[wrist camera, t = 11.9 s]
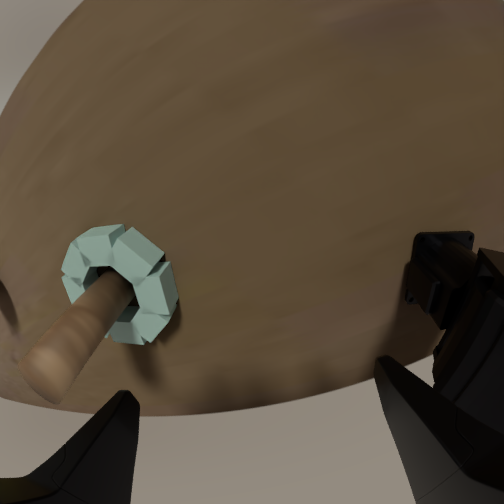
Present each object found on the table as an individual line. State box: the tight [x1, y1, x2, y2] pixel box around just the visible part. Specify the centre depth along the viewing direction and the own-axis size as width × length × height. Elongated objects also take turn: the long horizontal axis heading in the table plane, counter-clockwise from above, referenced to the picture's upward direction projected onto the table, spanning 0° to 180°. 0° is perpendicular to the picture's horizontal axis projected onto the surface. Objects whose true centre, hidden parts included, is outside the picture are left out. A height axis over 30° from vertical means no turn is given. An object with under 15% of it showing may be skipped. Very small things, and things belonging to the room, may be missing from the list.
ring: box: [61, 224, 179, 345], centre depth 22 cm, size 10×10×2 cm
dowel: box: [18, 267, 136, 404], centre depth 17 cm, size 3×3×13 cm
